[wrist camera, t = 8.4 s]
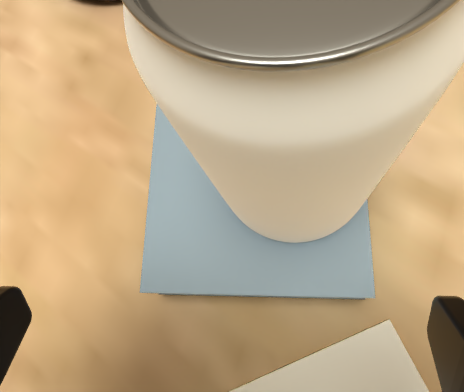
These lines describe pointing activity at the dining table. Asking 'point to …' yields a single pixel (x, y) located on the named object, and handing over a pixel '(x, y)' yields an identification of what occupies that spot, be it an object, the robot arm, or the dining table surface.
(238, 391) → the page
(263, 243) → the base brick
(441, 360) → the robot arm
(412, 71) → the can
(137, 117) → the dining table surface
